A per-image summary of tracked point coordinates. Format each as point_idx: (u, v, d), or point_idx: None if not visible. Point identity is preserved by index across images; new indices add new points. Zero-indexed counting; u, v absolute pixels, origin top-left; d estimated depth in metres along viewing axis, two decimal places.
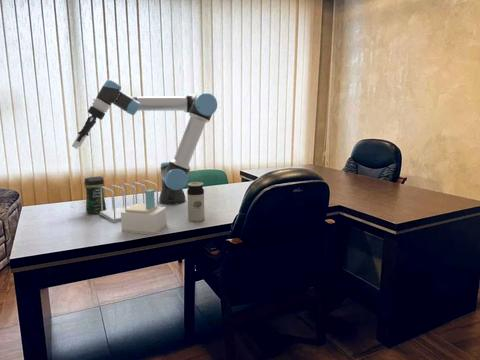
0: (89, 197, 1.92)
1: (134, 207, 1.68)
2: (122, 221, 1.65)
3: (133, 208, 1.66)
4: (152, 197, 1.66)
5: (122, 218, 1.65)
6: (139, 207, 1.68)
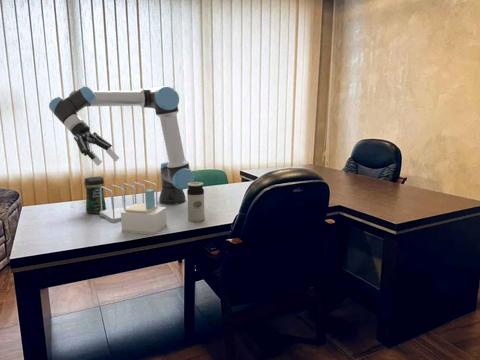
0: (89, 197, 1.92)
1: (134, 207, 1.68)
2: (122, 221, 1.65)
3: (133, 208, 1.66)
4: (152, 197, 1.66)
5: (122, 218, 1.65)
6: (139, 207, 1.68)
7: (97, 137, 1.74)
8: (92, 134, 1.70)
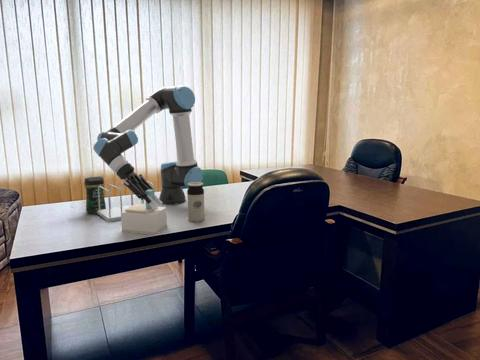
0: (89, 197, 1.92)
1: (134, 207, 1.68)
2: (122, 221, 1.65)
3: (133, 208, 1.66)
4: (152, 197, 1.66)
5: (122, 218, 1.65)
6: (139, 207, 1.68)
7: (141, 179, 1.71)
8: (137, 175, 1.67)
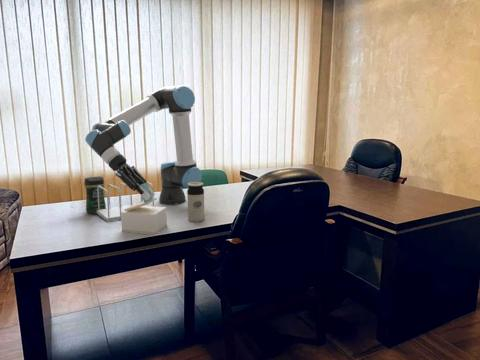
0: (89, 197, 1.92)
1: (133, 205, 1.68)
2: (122, 221, 1.65)
3: (132, 206, 1.66)
4: (147, 190, 1.66)
5: (122, 218, 1.65)
6: (138, 204, 1.68)
7: (134, 170, 1.71)
8: (129, 166, 1.67)
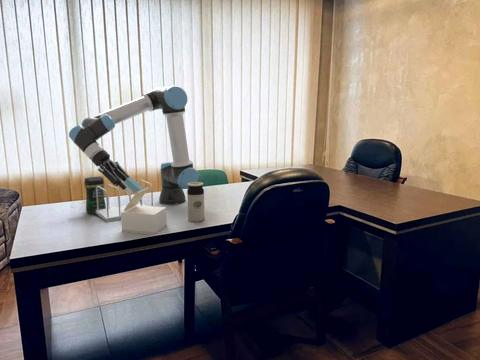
0: (89, 197, 1.92)
1: None
2: (122, 221, 1.65)
3: None
4: (134, 182, 1.66)
5: (122, 218, 1.65)
6: None
7: (117, 166, 1.72)
8: (113, 162, 1.69)
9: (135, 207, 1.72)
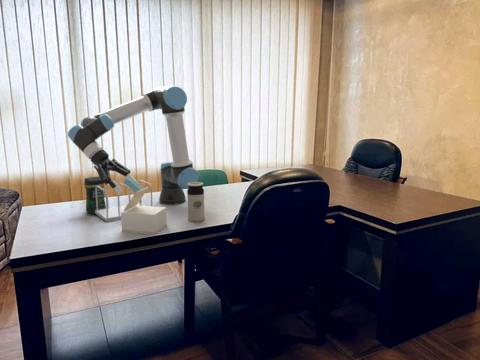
0: (89, 197, 1.92)
1: None
2: (122, 221, 1.65)
3: None
4: (133, 182, 1.66)
5: (122, 218, 1.65)
6: None
7: (116, 163, 1.74)
8: (111, 161, 1.69)
9: (135, 207, 1.72)
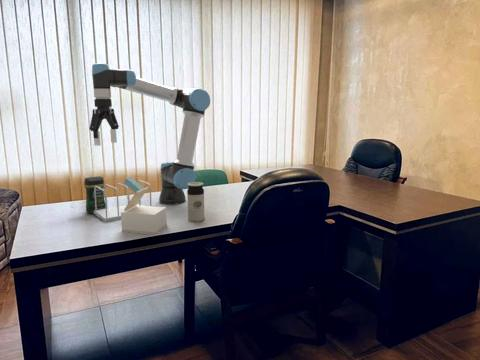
0: (89, 197, 1.92)
1: None
2: (122, 221, 1.65)
3: None
4: (133, 182, 1.66)
5: (122, 218, 1.65)
6: None
7: (112, 114, 1.82)
8: (109, 112, 1.78)
9: (135, 207, 1.72)
